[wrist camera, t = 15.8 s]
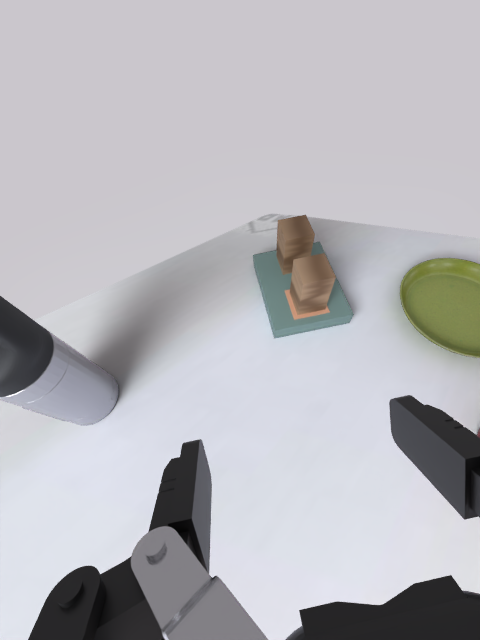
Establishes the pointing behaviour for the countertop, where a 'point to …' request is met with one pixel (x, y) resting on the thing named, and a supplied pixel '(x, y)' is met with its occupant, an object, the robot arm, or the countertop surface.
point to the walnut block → (311, 283)
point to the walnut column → (293, 241)
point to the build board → (282, 305)
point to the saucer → (445, 303)
